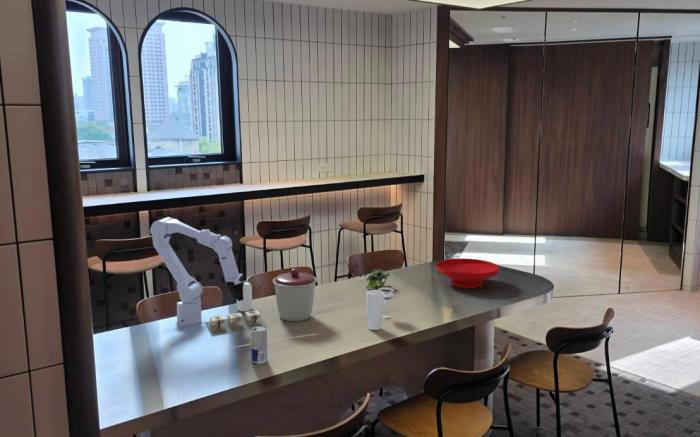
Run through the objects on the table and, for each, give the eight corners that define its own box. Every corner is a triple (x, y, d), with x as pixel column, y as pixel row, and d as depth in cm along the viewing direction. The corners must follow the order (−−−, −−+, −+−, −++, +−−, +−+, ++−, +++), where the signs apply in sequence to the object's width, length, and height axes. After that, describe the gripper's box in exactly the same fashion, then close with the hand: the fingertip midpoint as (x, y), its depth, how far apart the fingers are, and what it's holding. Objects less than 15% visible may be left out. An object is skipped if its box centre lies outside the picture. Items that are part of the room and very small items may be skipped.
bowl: (504, 293, 269) (505, 273, 267) (440, 293, 269) (441, 273, 267) (489, 276, 299) (490, 257, 297) (432, 275, 299) (433, 257, 297)
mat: (211, 337, 213) (211, 336, 213) (204, 323, 227) (204, 322, 227) (268, 329, 222) (268, 327, 222) (257, 316, 236) (257, 314, 236)
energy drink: (252, 358, 195) (251, 325, 193) (267, 358, 195) (267, 325, 193) (250, 365, 189) (250, 331, 187) (266, 365, 190) (266, 331, 188)
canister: (293, 307, 247) (292, 261, 243) (325, 316, 237) (325, 267, 233) (264, 319, 233) (263, 270, 229) (297, 329, 222) (297, 277, 219)
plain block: (230, 328, 221) (230, 318, 221) (228, 323, 226) (227, 314, 225) (243, 326, 223) (243, 316, 223) (240, 322, 228) (240, 312, 227)
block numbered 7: (248, 325, 224) (248, 315, 223) (245, 321, 229) (245, 311, 228) (260, 323, 226) (260, 314, 225) (257, 319, 231) (257, 310, 230)
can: (248, 312, 240) (248, 285, 238) (234, 311, 241) (233, 284, 239) (254, 307, 246) (253, 281, 244) (240, 306, 248) (239, 280, 246)
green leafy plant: (375, 295, 281) (384, 274, 285) (388, 297, 272) (397, 275, 276) (358, 286, 276) (368, 264, 280) (371, 287, 267) (381, 265, 271)
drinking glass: (385, 326, 225) (385, 290, 223) (380, 332, 219) (381, 295, 216) (368, 324, 227) (369, 289, 225) (363, 330, 221) (364, 293, 218)
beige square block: (212, 330, 218) (212, 320, 218) (210, 326, 223) (210, 316, 222) (225, 328, 220) (225, 318, 220) (223, 324, 225) (222, 314, 224)
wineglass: (395, 315, 238) (396, 288, 236) (389, 320, 232) (390, 293, 230) (380, 313, 241) (381, 286, 239) (374, 318, 235) (375, 290, 232)
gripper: (243, 265, 218) (252, 298, 219) (235, 261, 231) (244, 292, 233) (225, 271, 215) (235, 304, 217) (218, 267, 228) (227, 298, 230)
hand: (238, 298), depth 225 cm, fingers open, 7 cm apart
